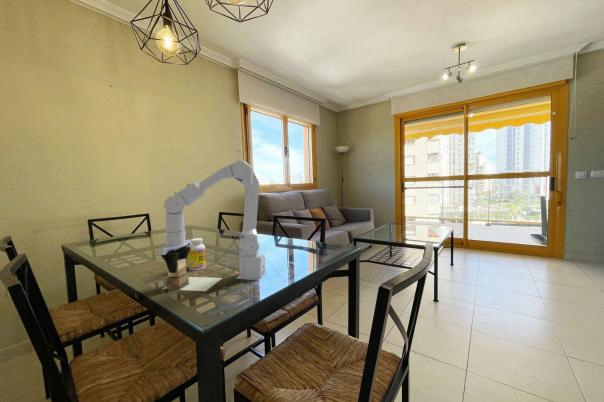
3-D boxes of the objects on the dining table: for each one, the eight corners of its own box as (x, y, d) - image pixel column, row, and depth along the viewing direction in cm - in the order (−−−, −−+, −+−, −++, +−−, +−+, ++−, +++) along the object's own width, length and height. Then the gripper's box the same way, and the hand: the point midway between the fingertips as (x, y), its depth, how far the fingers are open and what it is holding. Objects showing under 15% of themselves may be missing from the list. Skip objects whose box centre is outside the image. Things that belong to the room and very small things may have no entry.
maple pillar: (186, 272, 88) (185, 258, 88) (178, 276, 84) (178, 262, 84) (175, 272, 89) (175, 258, 88) (168, 276, 85) (167, 261, 84)
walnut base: (188, 283, 89) (188, 273, 88) (179, 289, 84) (179, 278, 84) (176, 282, 89) (175, 273, 89) (166, 288, 84) (165, 278, 84)
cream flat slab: (222, 279, 94) (222, 278, 93) (205, 292, 82) (205, 291, 82) (183, 278, 96) (183, 276, 96) (161, 290, 84) (161, 288, 84)
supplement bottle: (199, 271, 103) (198, 241, 103) (185, 271, 104) (184, 240, 104) (209, 266, 110) (207, 237, 109) (195, 266, 111) (194, 237, 110)
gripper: (178, 227, 93) (180, 263, 94) (148, 235, 79) (151, 277, 80) (195, 227, 92) (197, 264, 93) (169, 235, 78) (171, 278, 79)
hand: (177, 270), depth 86 cm, fingers closed on maple pillar, 4 cm apart
